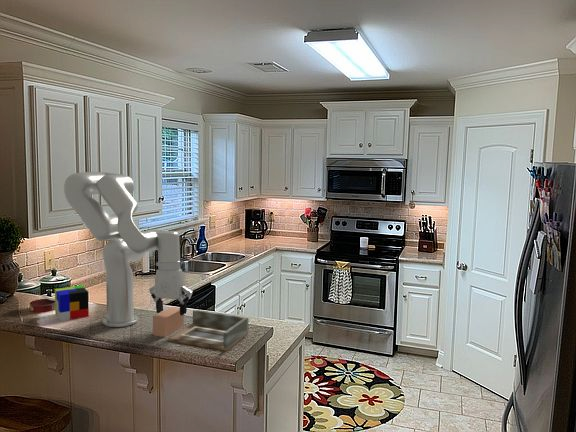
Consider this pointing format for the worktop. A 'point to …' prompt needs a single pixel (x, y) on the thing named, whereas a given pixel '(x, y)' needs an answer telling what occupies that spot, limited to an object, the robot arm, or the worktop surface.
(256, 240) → the worktop surface
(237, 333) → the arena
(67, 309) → the puzzle toy
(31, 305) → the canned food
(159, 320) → the block
